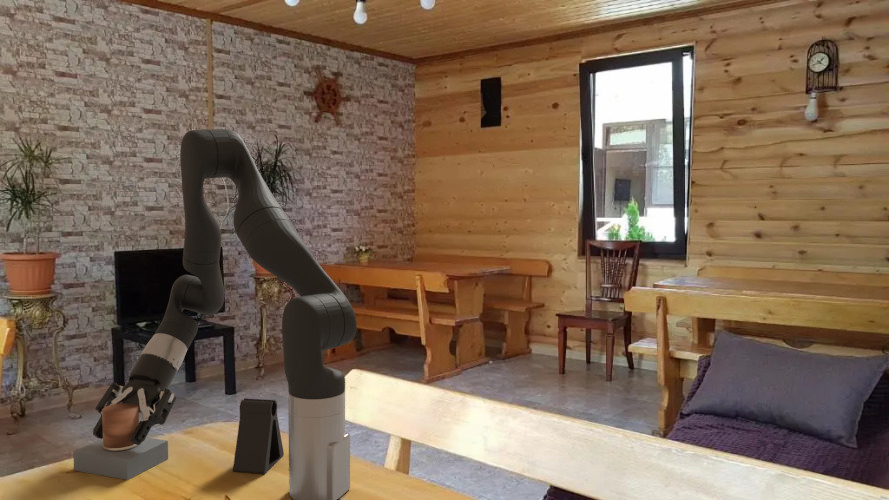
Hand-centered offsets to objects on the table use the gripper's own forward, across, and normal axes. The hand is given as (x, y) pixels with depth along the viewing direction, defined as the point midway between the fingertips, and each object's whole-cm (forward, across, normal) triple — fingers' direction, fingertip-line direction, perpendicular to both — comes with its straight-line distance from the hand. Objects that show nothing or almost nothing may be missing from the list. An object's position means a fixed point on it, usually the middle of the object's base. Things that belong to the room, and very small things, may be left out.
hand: (115, 439), depth 124 cm
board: (+3, 0, +4) cm, 5 cm away
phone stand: (-4, +23, +11) cm, 26 cm away
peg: (+2, 0, +4) cm, 5 cm away
